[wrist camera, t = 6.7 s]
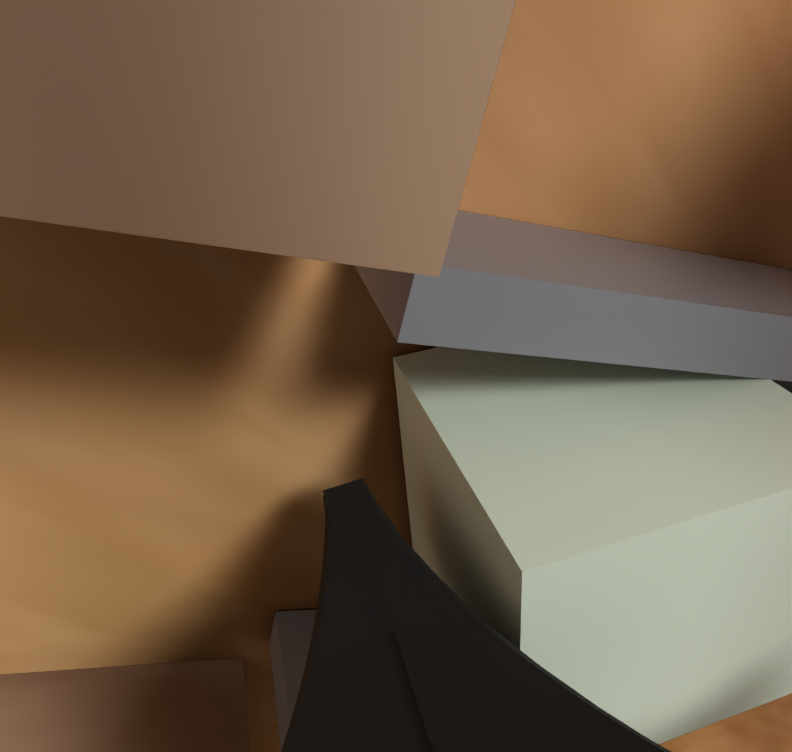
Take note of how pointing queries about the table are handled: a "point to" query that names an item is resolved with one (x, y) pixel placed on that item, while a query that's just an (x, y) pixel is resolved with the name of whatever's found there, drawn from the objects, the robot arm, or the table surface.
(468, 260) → the corral
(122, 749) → the walnut block
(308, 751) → the robot arm
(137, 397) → the table surface
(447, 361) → the sage block
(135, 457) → the table surface
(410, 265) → the walnut block
